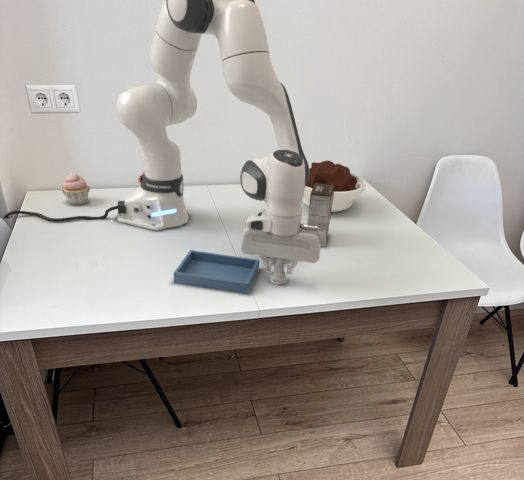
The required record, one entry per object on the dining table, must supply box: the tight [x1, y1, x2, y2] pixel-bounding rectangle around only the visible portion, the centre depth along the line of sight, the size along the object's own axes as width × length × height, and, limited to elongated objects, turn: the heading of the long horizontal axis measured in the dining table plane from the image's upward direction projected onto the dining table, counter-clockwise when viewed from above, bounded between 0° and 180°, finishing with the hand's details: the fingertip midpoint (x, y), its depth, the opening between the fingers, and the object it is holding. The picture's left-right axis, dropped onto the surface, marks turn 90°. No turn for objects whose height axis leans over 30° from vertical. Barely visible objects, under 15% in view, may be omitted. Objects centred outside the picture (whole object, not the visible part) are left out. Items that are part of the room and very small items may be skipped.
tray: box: [173, 249, 260, 295], centre depth 129 cm, size 20×14×3 cm
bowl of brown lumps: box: [301, 160, 366, 213], centre depth 170 cm, size 25×25×15 cm
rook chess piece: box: [269, 257, 287, 286], centre depth 127 cm, size 4×4×8 cm
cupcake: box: [60, 171, 91, 206], centre depth 162 cm, size 9×9×10 cm
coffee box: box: [306, 183, 335, 248], centre depth 147 cm, size 9×6×16 cm
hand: (278, 271), depth 128 cm, fingers open, 4 cm apart
